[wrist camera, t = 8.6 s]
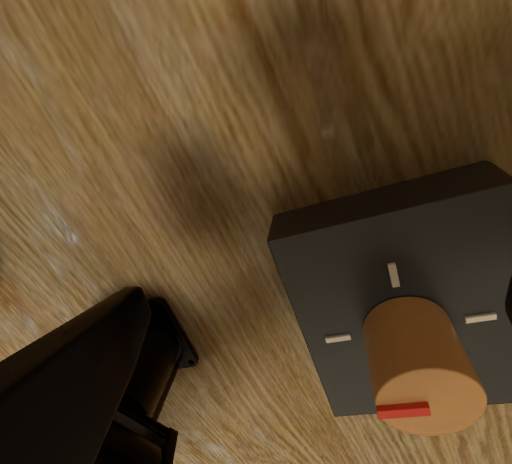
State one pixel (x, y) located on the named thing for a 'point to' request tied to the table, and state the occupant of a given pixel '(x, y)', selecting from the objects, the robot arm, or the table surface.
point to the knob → (420, 369)
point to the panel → (401, 272)
